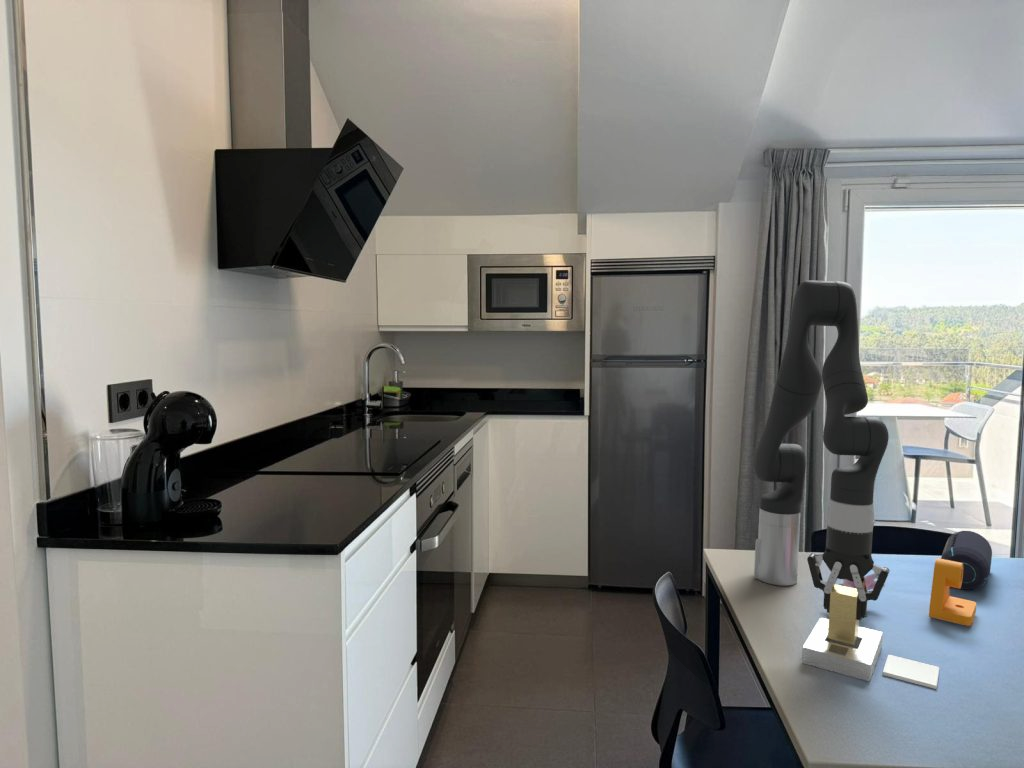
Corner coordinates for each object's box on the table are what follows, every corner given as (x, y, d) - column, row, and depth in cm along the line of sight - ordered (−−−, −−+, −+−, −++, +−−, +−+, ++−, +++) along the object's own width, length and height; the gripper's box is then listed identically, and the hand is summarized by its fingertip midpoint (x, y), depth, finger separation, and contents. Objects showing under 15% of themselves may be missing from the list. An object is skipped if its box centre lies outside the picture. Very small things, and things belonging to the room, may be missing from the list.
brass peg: (827, 638, 125) (830, 591, 125) (832, 630, 129) (835, 584, 128) (854, 645, 123) (857, 597, 122) (857, 636, 127) (860, 589, 126)
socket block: (801, 662, 123) (802, 645, 122) (819, 631, 136) (820, 616, 136) (869, 681, 116) (870, 663, 116) (881, 647, 129) (882, 631, 129)
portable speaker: (945, 560, 181) (947, 524, 181) (991, 569, 175) (993, 531, 175) (936, 588, 161) (939, 546, 160) (988, 598, 155) (991, 555, 155)
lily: (893, 614, 148) (878, 569, 152) (896, 611, 138) (880, 563, 142) (835, 622, 152) (822, 578, 156) (834, 620, 142) (820, 573, 146)
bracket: (969, 630, 138) (973, 572, 137) (928, 620, 143) (932, 564, 142) (976, 614, 146) (980, 559, 145) (937, 605, 151) (940, 552, 150)
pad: (882, 674, 119) (882, 671, 119) (888, 657, 125) (888, 654, 125) (936, 689, 114) (936, 685, 114) (939, 670, 121) (939, 667, 121)
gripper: (803, 522, 125) (799, 612, 127) (891, 537, 117) (885, 633, 119) (812, 514, 131) (807, 599, 133) (896, 527, 123) (890, 618, 125)
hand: (844, 614), depth 126 cm, fingers closed on brass peg, 4 cm apart
